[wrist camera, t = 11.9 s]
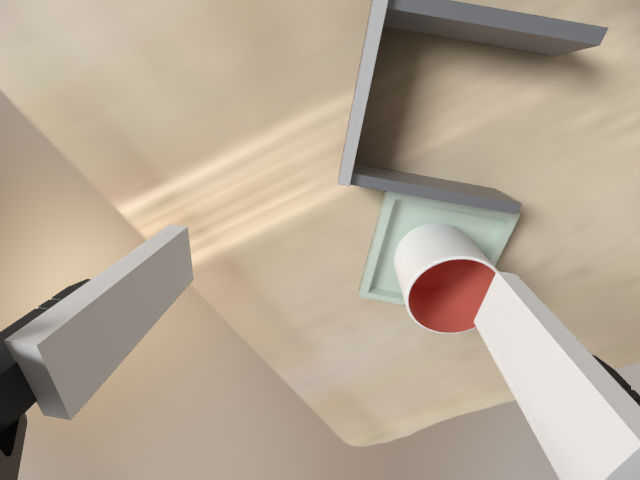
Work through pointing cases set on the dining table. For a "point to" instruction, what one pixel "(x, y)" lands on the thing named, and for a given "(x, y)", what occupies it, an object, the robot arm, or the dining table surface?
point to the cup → (442, 277)
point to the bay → (462, 24)
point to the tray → (412, 212)
